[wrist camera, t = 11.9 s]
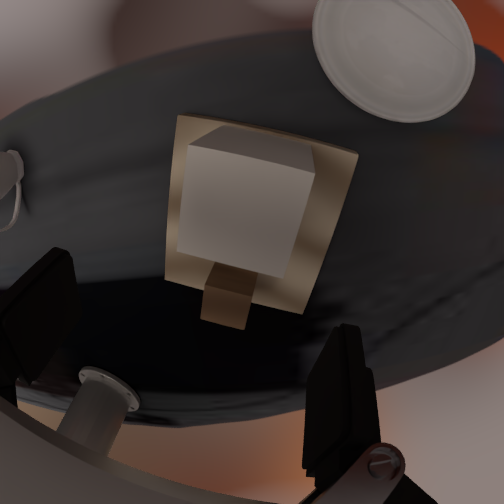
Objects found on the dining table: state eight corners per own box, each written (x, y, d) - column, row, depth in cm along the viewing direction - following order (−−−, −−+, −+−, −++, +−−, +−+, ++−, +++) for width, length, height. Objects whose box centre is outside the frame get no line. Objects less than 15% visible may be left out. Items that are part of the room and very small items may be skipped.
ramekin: (437, -4, 14) (465, -19, 9) (447, 120, 20) (478, 131, 15) (301, -17, 16) (301, -41, 12) (316, 113, 22) (320, 121, 17)
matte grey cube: (289, 222, 25) (283, 278, 18) (210, 203, 25) (176, 251, 18) (310, 144, 21) (315, 173, 15) (223, 124, 22) (188, 144, 15)
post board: (302, 304, 31) (300, 356, 25) (170, 271, 31) (142, 315, 25) (355, 150, 22) (374, 176, 16) (184, 112, 23) (145, 125, 17)
